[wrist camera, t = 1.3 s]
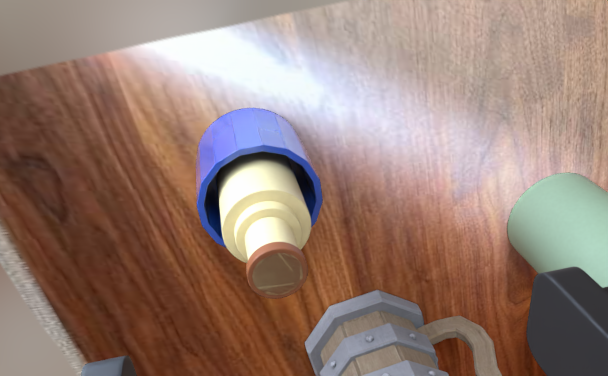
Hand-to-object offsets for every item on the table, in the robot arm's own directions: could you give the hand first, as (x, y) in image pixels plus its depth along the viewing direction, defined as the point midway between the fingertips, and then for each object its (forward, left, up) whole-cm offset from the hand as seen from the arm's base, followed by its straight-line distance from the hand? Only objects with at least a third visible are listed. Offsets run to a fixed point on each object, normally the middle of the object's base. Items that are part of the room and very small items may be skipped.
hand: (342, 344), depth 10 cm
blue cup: (+11, +4, -34) cm, 36 cm away
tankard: (+28, +24, -34) cm, 50 cm away
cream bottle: (+11, +4, -34) cm, 35 cm away
